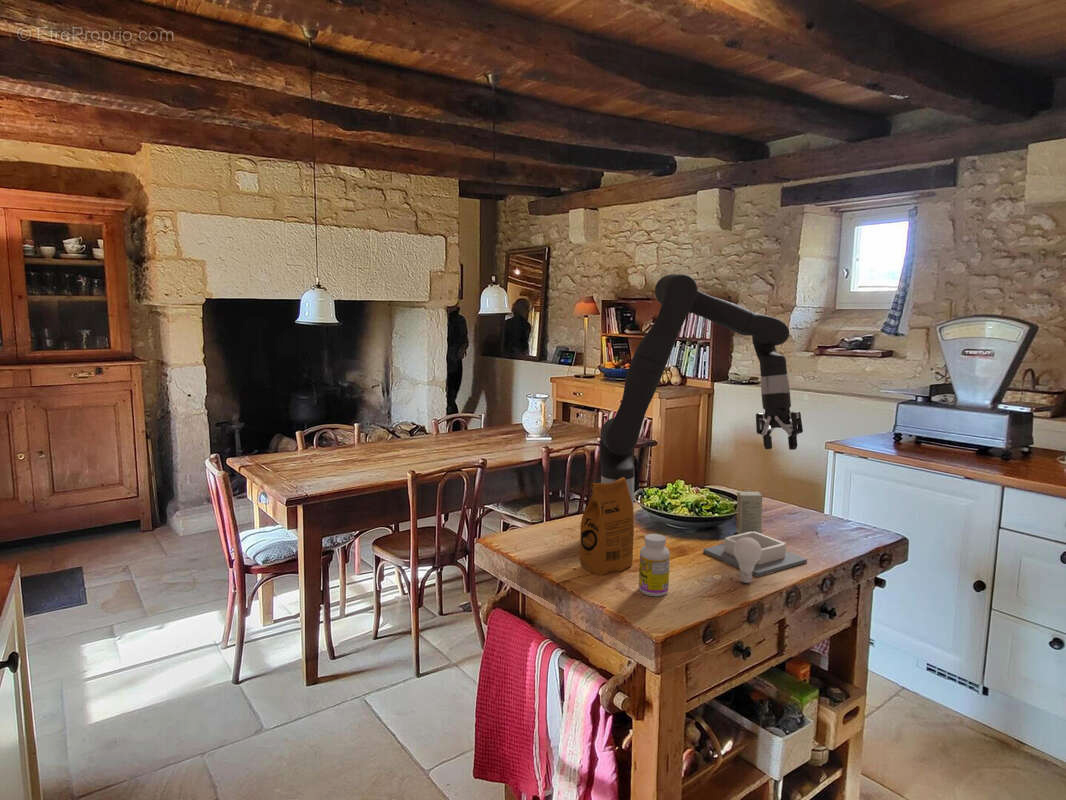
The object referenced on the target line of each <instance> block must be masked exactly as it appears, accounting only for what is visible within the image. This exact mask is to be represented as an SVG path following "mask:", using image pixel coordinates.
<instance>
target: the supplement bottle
mask: <svg viewBox="0 0 1066 800" xmlns="http://www.w3.org/2000/svg"><path fill="white" fill-rule="evenodd" d="M644 543H645V545H643V546H642V547H641V548H640V550H639V573H638V574H639V575H638V589H639V591H640V593H642V594H644V595H645V596H649V597H662V596H663V597H664V596H665V595H666V594H668V592H669V582H670V581H669V580H670V557H671V556H670V555H671V553H670V550H669V549H668V547H666V546H665V545H666V543H667V537H666V536H665V535H663V534H659V533H649V534H646V535H645V536H644Z"/></svg>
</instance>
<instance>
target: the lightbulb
mask: <svg viewBox="0 0 1066 800" xmlns="http://www.w3.org/2000/svg"><path fill="white" fill-rule="evenodd" d="M733 553H734V556H735V558H736V560H737V561H738V563H739V568H740V569H739V568H738V569H739V571H740V574H739V581H740V582H742V583H743V584H750V583H752V581H753V575H752V571H753V570H754V567H755V564H756V563H757V562H758V561H759V560H760V558H761V555H762V549H761V546H760V544H759V543H758V542H757V541H756V540H755V539H753V538H750V537H743V538H740V539H739V540H737V541H736V543H735V544H734V547H733Z"/></svg>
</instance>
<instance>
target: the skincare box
mask: <svg viewBox="0 0 1066 800" xmlns="http://www.w3.org/2000/svg"><path fill="white" fill-rule="evenodd" d="M736 493H737V495H736V496H737V497H736V509H737V508H738V513H737V512H736V523H735V524H736V525H735V526H736V529H735V531H736V534H737V533H738V534H742V533H746V532H750V531H751V532H754V531H755V532H758V533H760V534H762V519H763V518H762V516H763V515H762V514H763V495H762V493H761V492H760V491H739V490H738V491H737V492H736ZM738 534H737V535H738Z"/></svg>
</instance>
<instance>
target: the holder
mask: <svg viewBox="0 0 1066 800" xmlns="http://www.w3.org/2000/svg"><path fill="white" fill-rule="evenodd" d="M743 537H750V538H753V539H755V540H756V541H757V542H758V543H759V544H760V546H761V549H762V555H761V558H760V560H759V561H758V562H757V563H756V564H755V567H754V570H753V571H752V576H754V575H755V576H754V577H756V576H759V577H762V576H765V575H764V574H766V575H768V574H767V573H769V574H772V573H771V572H773V573H776V572H779V571H778V570H780V571H783V570H782V569H784V570H786V569H785V568H787V569H790V568H789V567H791V568H793V567H792V566H794V567H796V566H795V565H798V566H800V565H799V564H801V565H803V564H802V563H805V564H807V563H806V562H808V558H806V557H803V556H800V555H797V554H795V553H793V552H790V551H787V543H786V542H784V541H781V540H779V539H776V538H774V537H771V536H767V535H766V534H763V533H761V534H760V533H758V532H755V531H754V532H751V531H750V532H746V533H742V534H735V535H730V536H726V537H725V538H724V539H723V540H724V541H723V543H722V544H718V545H714V546H710V547H706V548H705V547H704V548H703V552H704V553H703V554H706V555H708V554H709V555H708V556H710V555H711V556H710V557H712V556H713V558H714V557H715V559H717V560H719V559H720V560H719V561H721V560H722V561H721V562H723V561H724V562H723V563H725V562H726V563H725V564H728V565H730V564H731V565H730V566H732V565H733V566H732V567H734V566H735V568H736V567H737V569H739V570H740V568H739V563H738V561H737V560H736V558H735V556H734V553H733V547H734V544H735V543H736V541H737V540H739V539H740V538H743ZM775 571H776V572H775ZM761 575H762V576H761Z"/></svg>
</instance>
